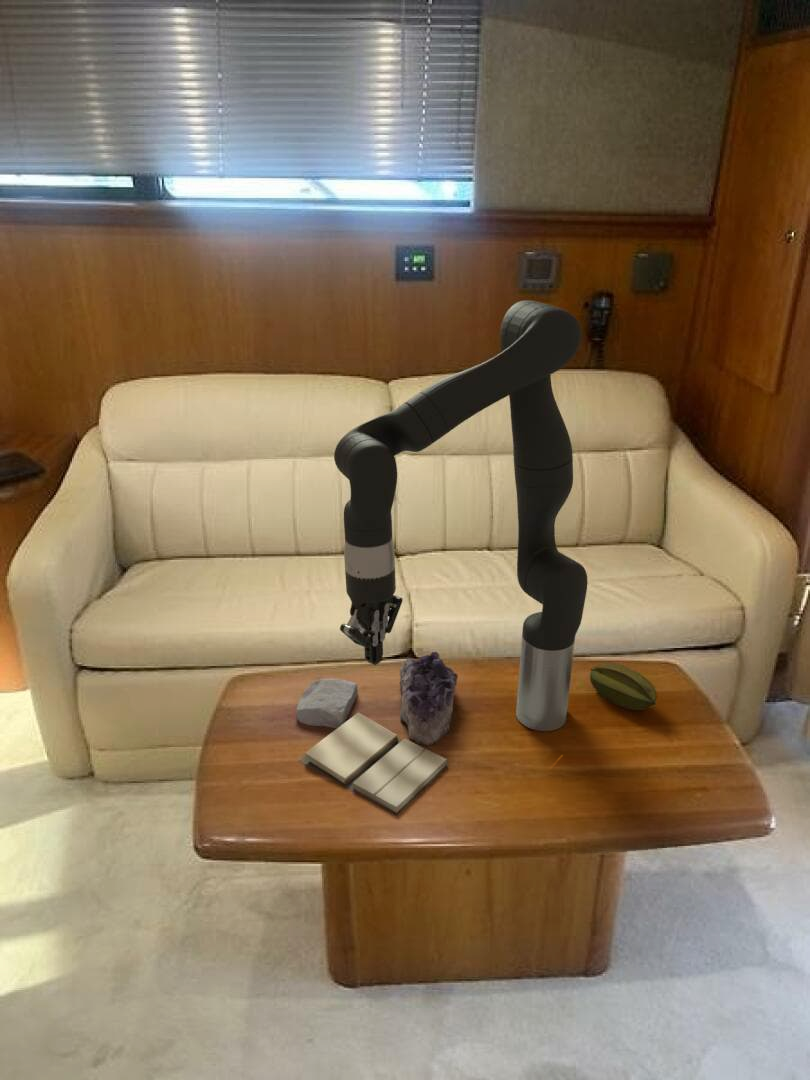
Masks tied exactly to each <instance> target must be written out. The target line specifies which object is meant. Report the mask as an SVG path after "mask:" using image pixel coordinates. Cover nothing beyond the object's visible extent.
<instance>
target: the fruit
mask: <svg viewBox="0 0 810 1080" xmlns="http://www.w3.org/2000/svg"><path fill="white" fill-rule="evenodd" d="M589 681H590V683H591V685H592V687H593V688H594V690H595V691H597V693H598V694H599V695H600V696H602V697H603V698H604V699H605V700H607V701H610V702H611V703H612V704H613V705H616V706H618V707H621V708H624V709H627V710H632V711H633V710H634V711H642V710H645V709H648V708H651V707H652V706H656V705H657V703H656V701H657V697H658V695H657V690H656V688H655V687H656V686H654V685H653V683H652V682H651V681H649V679H647V677H645V676H644V675H642V674H641V673H639V672H637V671H635V670H633V669H631V668H629V667H628V666H624V665H623V664H617V663H601V664H598V665H595V666H594V667H592V668H591V669H590V674H589Z"/></svg>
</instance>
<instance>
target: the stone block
mask: <svg viewBox="0 0 810 1080" xmlns="http://www.w3.org/2000/svg"><path fill="white" fill-rule="evenodd" d="M358 692H359V691H358V684H357V683H356V682H352V681H349V680H345V679H340V678H333V677H332V678H331V677H330V678H329V677H328V678H319V679H318V680H314V681H313V682H312V681H311V683H309V687H308V688H306V689H305V691H304V692H303V693H302V696H301V697H300V699H299V700H298V702H297V706H296V711H295V712H296V717H297V720H298V722H299V723H301V724H305V725H308V726H318V727H327V728H333V729H337V728H338V727H340V726H341V725H342V724H344V723H345V722H346V721H347V719H348V716H349V715H350V712H351V710H352V708H353V705H354V703H355V701H356V699H357V697H358Z"/></svg>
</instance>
